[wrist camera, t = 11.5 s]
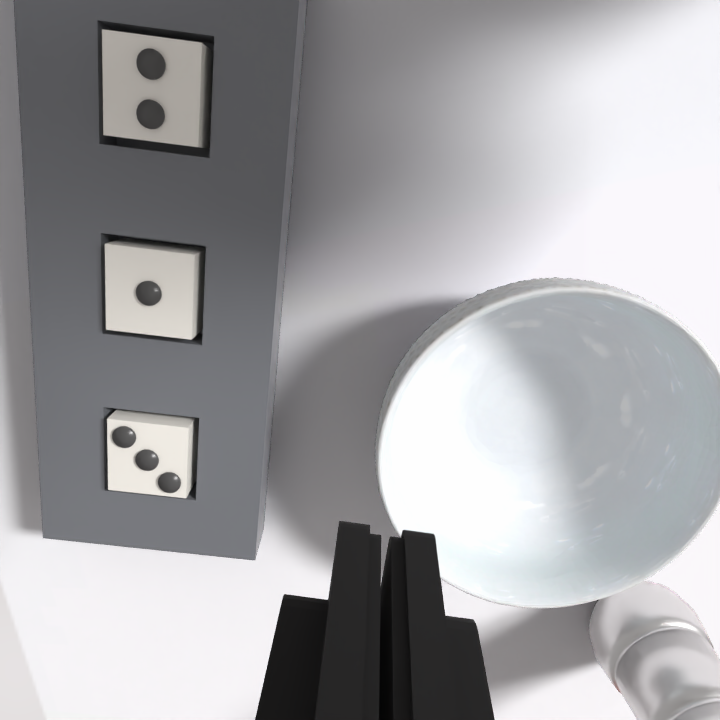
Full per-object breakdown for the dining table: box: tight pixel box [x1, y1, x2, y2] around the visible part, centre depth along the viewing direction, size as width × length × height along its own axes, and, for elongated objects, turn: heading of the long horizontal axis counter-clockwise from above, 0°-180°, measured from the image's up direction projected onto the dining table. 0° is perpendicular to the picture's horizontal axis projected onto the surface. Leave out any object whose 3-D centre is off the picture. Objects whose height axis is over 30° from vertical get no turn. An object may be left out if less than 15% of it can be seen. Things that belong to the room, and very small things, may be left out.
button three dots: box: [107, 409, 199, 498], centre depth 32 cm, size 4×4×3 cm
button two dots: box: [102, 29, 214, 149], centre depth 27 cm, size 4×4×3 cm
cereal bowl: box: [375, 277, 720, 608], centre depth 31 cm, size 17×17×7 cm
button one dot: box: [105, 238, 206, 340], centre depth 29 cm, size 4×4×2 cm
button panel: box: [14, 0, 307, 560], centre depth 30 cm, size 30×12×3 cm, turn 173°
